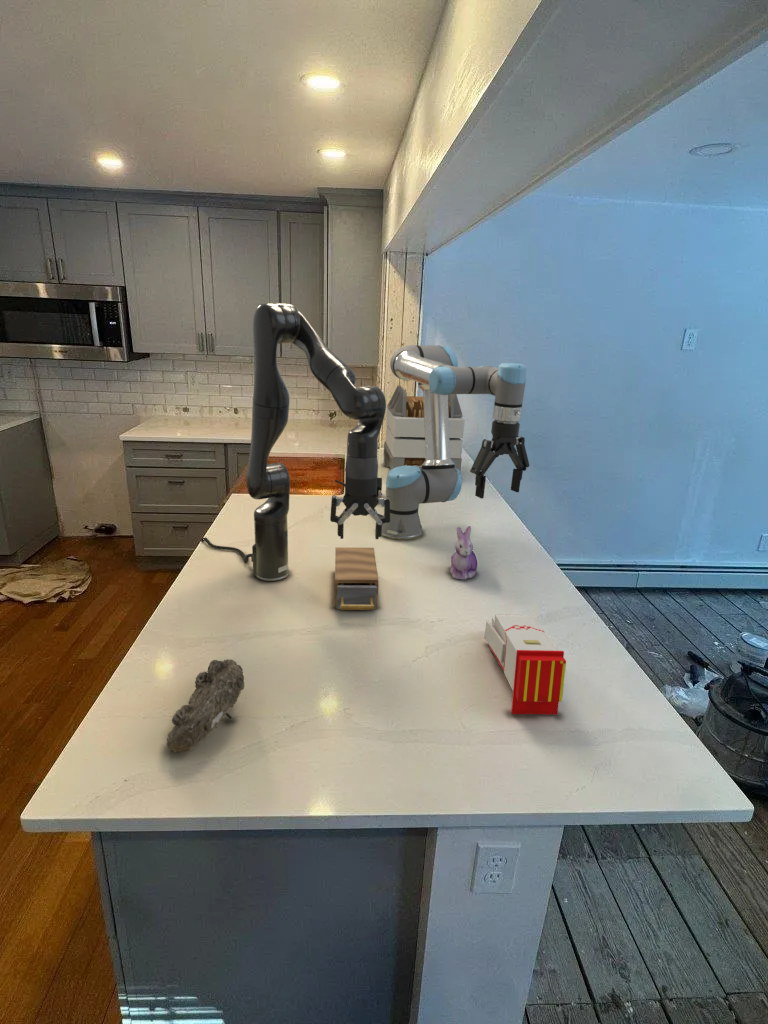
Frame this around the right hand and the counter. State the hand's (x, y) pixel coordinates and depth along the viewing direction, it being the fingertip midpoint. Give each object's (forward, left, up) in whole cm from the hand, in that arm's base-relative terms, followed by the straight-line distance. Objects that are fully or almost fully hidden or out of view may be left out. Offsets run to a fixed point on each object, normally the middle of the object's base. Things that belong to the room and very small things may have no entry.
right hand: (497, 494), depth 164 cm
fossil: (+9, -93, -26) cm, 97 cm away
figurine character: (-74, +16, -26) cm, 80 cm away
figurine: (-4, -7, -26) cm, 27 cm away
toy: (+37, -35, -26) cm, 56 cm away
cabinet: (-16, -39, -26) cm, 49 cm away
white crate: (-92, +60, -26) cm, 113 cm away
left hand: (-3, -48, -3) cm, 48 cm away
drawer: (-11, -42, -25) cm, 50 cm away
